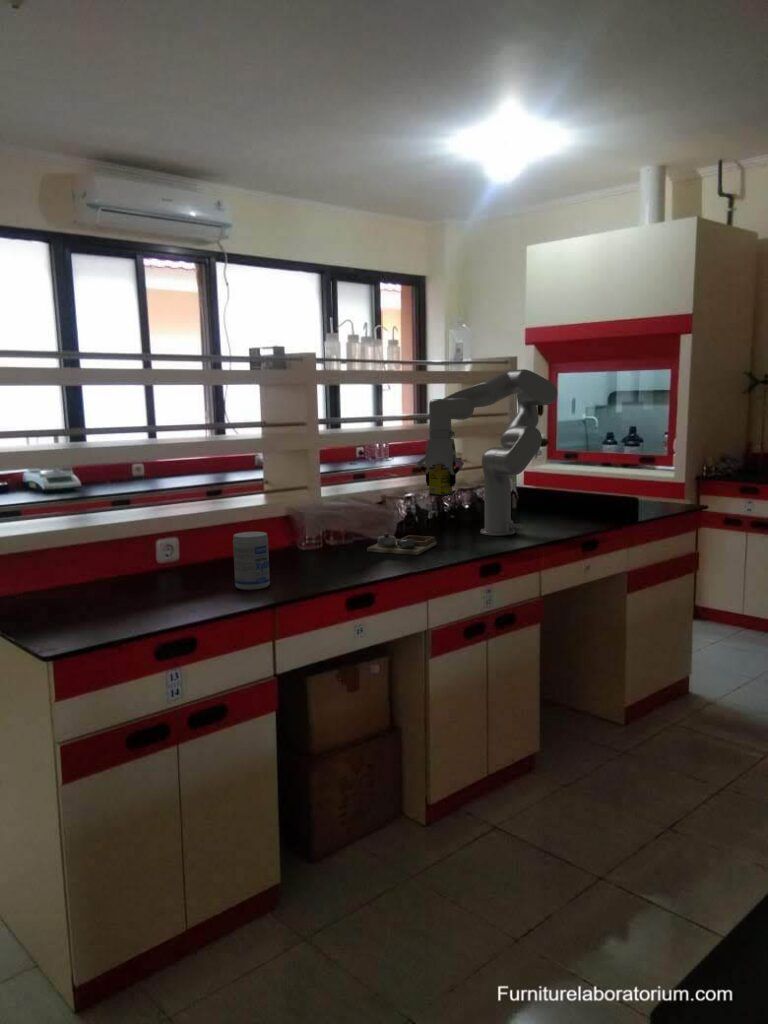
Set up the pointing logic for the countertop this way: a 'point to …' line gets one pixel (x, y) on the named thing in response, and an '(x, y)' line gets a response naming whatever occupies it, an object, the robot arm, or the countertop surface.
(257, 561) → the supplement tub
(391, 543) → the carrier board
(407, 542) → the seated puck
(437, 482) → the supplement box
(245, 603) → the countertop surface
